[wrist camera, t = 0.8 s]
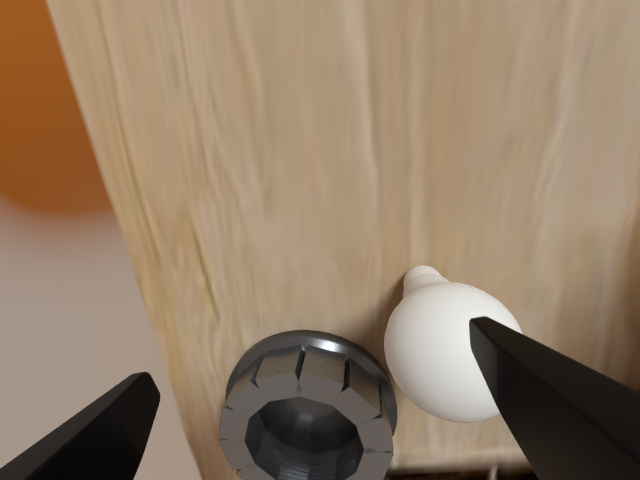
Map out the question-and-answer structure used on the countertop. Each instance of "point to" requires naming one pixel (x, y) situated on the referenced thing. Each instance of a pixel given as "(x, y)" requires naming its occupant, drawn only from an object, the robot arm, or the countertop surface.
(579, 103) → the countertop surface
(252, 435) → the socket
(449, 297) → the lightbulb
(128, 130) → the countertop surface
